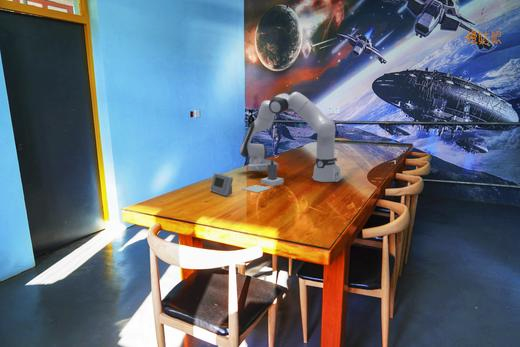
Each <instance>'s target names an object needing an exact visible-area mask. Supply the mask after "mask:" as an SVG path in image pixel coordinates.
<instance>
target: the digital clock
mask: <svg viewBox="0 0 520 347" xmlns="http://www.w3.org/2000/svg"><path fill="white" fill-rule="evenodd" d="M233 181H234V179H233V176H230V175H227V174H224V173H218V172H215V173H214V174H213V178H212V181H211V185H210V188H209V190H210V191H211V192H212V193H214V194H218V195H220V196H225V197H228V196H230V195H232V194H233V186H232V184H233Z"/></svg>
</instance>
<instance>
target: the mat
mask: <svg viewBox="0 0 520 347" xmlns="http://www.w3.org/2000/svg"><path fill="white" fill-rule="evenodd" d="M241 189H242V190H244V191H247V192H252V193H256V194H257V193H258V194H259V193H261V192H264V191H265V192H266V191H267V190H270V189H271V187H270V186H262V185H258V184H254V185H251V186H247V187H243V188H241Z"/></svg>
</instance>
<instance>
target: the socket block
mask: <svg viewBox="0 0 520 347" xmlns="http://www.w3.org/2000/svg"><path fill="white" fill-rule="evenodd" d="M284 181H285V180H284V178H283V177H278V176H277V179H275V180H269V179H268V176H267V177H264V178H260V184H261V185H265V186H268V187H276V186H279V185H283V184H284Z"/></svg>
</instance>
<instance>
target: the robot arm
mask: <svg viewBox="0 0 520 347" xmlns="http://www.w3.org/2000/svg"><path fill="white" fill-rule="evenodd" d="M289 109H291V110H293V111H294V112H295V113H296V114H297V115H298V116H300V117H301V118H302V120H304V121H305V122H306V123H307V124H308V125H309V126H310V127H311V129H312V130H313V131H314V132H316V134H317V138H316V139H317V140H316V155H315V156H316V157H315V165H313V166H314V167H313V175H312V176H311V178H312V179H313V180H314V181H316V182H322V183H333V182H335V183H336V182H337V183H338V182H339V181H340V180H343V179H344V178H345V176H344V175H342V174H341V168H340V167H339V166H338V165H337V164H336V162H337V161H338V158H337V157H335V143H336V142H335V141H336V123H335V121H334V120H333V119H331V118H328V117H327V116H326V115H325V114H324V113H323V112H322V110H321V109H320V108H319V107H317V106H316V104H315V103H314V102H312V101H311V100H310V99H308V97H307V96H305V95H303V94H302V93H301V92H299V91H294V92H292V93H288V92H282V93H279V94H277V95H276V96H274V97H273V98H272V99H271V100H268V99H266V100H263V101H262V102H261V104H260V107H259V110H258V113H257V117H256V119H254V121H252V122H251V123H250V124H249V127H248V129H247V131H246V133H245V136H244V138H243V141H242V143H241V145H240V146H239V154H240V155H241V156H242V157H243V158H249V159H248V160H249V161H248V162H249V163H248V165H246V166H245V167H246V168H247V169H248V172H255V171H257V172H259V173H260V172H264V171H268V165H269V164H271V160H272V159H268V158H267V155H268V154H267V152H268V151H267V148H266V146H265V145H264V143H252V140H253V136H254V135H255V134H257V133H259V132H262V131H267V130H269V129H270V128H271V127H272V126H273V123H274V119H275V115H280V114H283V113H284V112H286V111H288V110H289ZM266 158H267V159H266ZM274 164H276V165H277V170H278V169H279V163H278V162H276V161H274Z"/></svg>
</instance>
